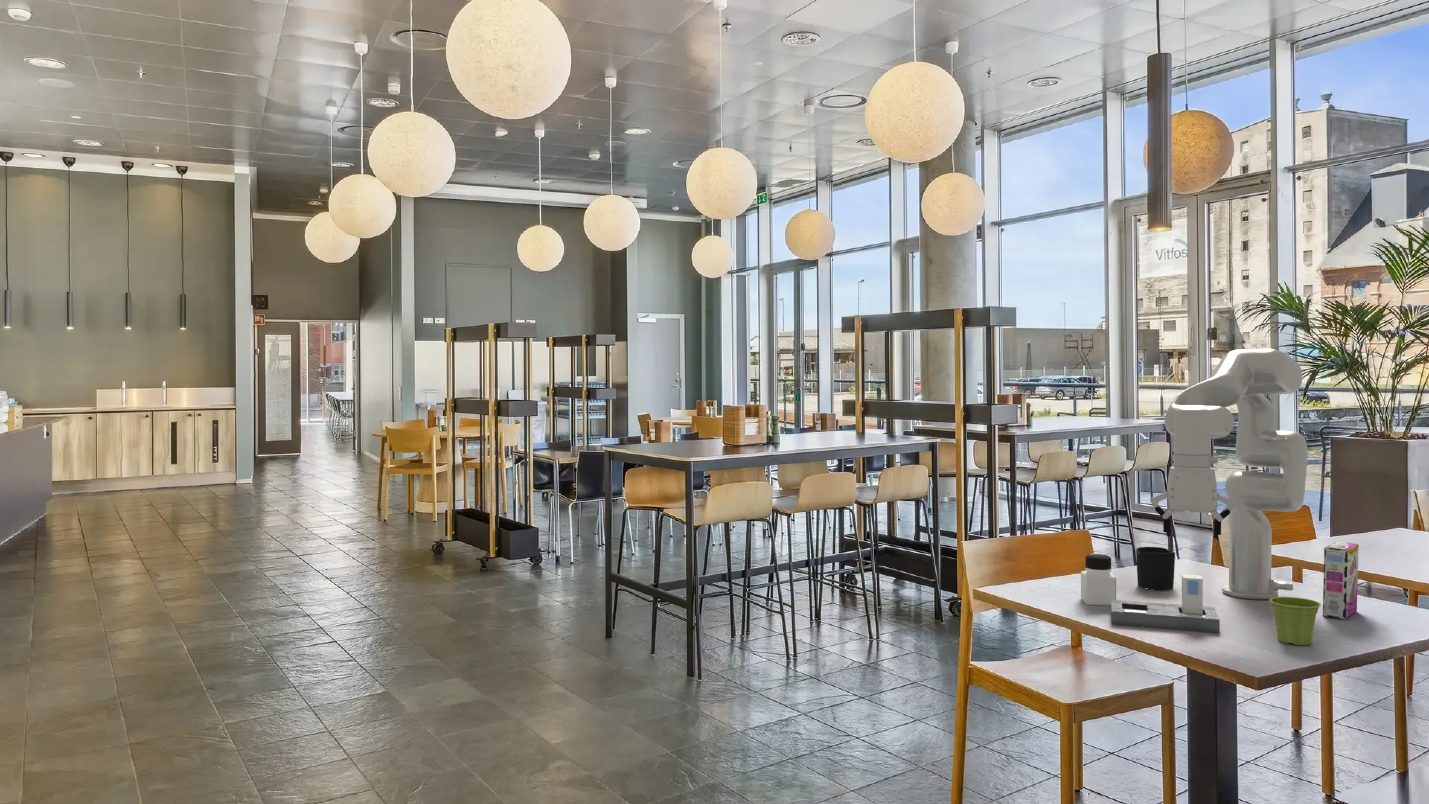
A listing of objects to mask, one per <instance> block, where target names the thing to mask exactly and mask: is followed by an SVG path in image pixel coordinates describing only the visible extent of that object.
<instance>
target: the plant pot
mask: <svg viewBox="0 0 1429 804" xmlns="http://www.w3.org/2000/svg"><path fill="white" fill-rule="evenodd" d="M1268 601H1269V603H1270V604H1271V607H1272V610H1273V614H1274V621H1275V627H1276V634H1277V639H1278V641H1279V642H1281V643H1283V644H1293V645H1296V646H1309V645H1311V644H1312V642H1313V637H1314V630H1315V623H1316V618H1317V614H1318V613H1319V609H1320V608H1321V606H1322V605H1321V603H1320V602H1319V601H1316V600H1313V599H1307V598H1302V597H1295V596H1278V597H1274V598H1270V599H1268Z"/></svg>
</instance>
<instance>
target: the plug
mask: <svg viewBox="0 0 1429 804" xmlns="http://www.w3.org/2000/svg"><path fill="white" fill-rule="evenodd" d="M1203 585H1204V580H1203V576H1202V575H1199V574H1186V573H1185V574H1181V604H1182V613H1185V614H1198V615H1203V606H1204V603H1203V601H1204V592H1203V591H1204V588H1203V587H1204V586H1203Z"/></svg>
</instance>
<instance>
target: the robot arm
mask: <svg viewBox="0 0 1429 804" xmlns="http://www.w3.org/2000/svg"><path fill="white" fill-rule="evenodd" d="M1302 383H1303V371H1302V368H1301V366H1300V364H1299V363H1298V362H1297V361H1296V360H1295V358H1292V357H1291V356H1290V355H1288V354H1287V353H1285V352H1283V351H1281V350H1278V349H1275V348H1253V349H1250V348H1249V349H1248V348H1247V349H1245V348H1244V349H1243V348H1242V349H1234V350H1232V351H1228V352H1227V353H1226V354H1225V355H1223V357H1222V358H1221V360H1220V361H1219V363H1218V364H1217V366H1216V368H1215V369H1214V371H1213V373H1212V374H1211V375H1210V377H1209V378H1208V379H1206V380H1203V381H1201V382H1198V383H1196V384H1194V385H1193V386H1190V387H1188V388H1186V389H1184V390H1182V391H1181V392H1179V393H1178V394H1177V395H1176V396H1175V397H1174V399H1172V401H1171V403H1170V404H1169V406H1168V408H1167V410H1166V413H1165V416H1164V427H1165V429H1166V431H1167V433H1168V434H1170V435H1171V436H1173V466H1170V467H1169V470H1168V471H1169V472H1168V476H1167V477H1168V479H1167V487H1166V488H1167V489H1166V491H1165V492H1163V493H1160V494H1158V495H1155V496H1153V497H1151V498H1150V499H1149V501H1150V503H1151V505H1152V507H1153V508H1154V510H1155V512H1156V513H1157V514H1158V515H1159V516H1160V517H1161V518H1162V519H1163V521H1162V524H1163V525H1162V526H1163V529H1162V530H1163V531H1162V532H1163V533H1166V537H1168V538H1169V537H1171V535H1172V534H1171V532H1172V531H1171V526H1172V525H1171V524H1172V523H1171V522H1172V521H1171V520H1172V519H1171V518H1170V516H1171V515H1172V514H1174V512H1181V513H1182V512H1184V513H1202V514H1204V513H1205V514H1211V515H1212V516H1213V520H1212V537H1213V539H1215V540H1218V538H1219V536H1222V522H1223V520H1225V519H1226V518H1227V517H1228V526H1229V527H1228V532H1229V533H1228V534H1229V535H1228V536H1229V537H1228V540H1229V542H1228V584H1226V585H1223V586H1222V588H1221V591H1222V593H1224V594H1225V595H1228V596H1232V597H1235V598H1239V599H1247V600H1249V599H1250V600H1269V599H1270V598H1274V597H1279V590H1282V591H1283V590H1284V591H1293V590H1294V585H1293V582H1286V581H1282V580H1281V581H1278V580H1275V579H1274V578H1273V577H1272V541H1273V540H1272V539H1273V538H1272V535H1273V533H1272V532H1273V530H1272V526H1271V523H1270V521H1269V519H1268V518H1267V517H1266V515H1265V514H1264V513H1263V512H1262V511H1272V512H1273V511H1274V512H1285V513H1295V512H1297V511H1299V510H1301V508H1302V506H1303V504H1304V500H1305V492H1306V482H1307V481H1306V480H1307V467H1308V455H1309V451H1308V444H1307V440H1306V437H1305V436H1304V435H1302V434H1301V433H1299V432H1298V431H1292V430H1277V429H1276V422H1277V421H1276V418H1277V411H1276V409H1275V407H1274V406H1273V404H1272V403H1271V401H1270V400H1269V399H1268V398H1267V397H1266V396H1265V394H1270V395H1271V394H1272V395H1273V394H1275V395H1278V394H1281V395H1287V394H1288V395H1289V394H1294V393H1296V392H1297V391H1298V390H1299V389H1300V387H1301V386H1302ZM1234 405H1236V407H1237V412H1238V413H1237V414H1238V417H1237V426H1236V427H1237V429H1236V442H1235V458H1236V460H1237V462H1238V463H1239V464H1241V465H1244V466H1249V467H1255V468H1257V467H1258V468H1271V469H1281V470H1282V472H1283V473H1279V472H1267V471H1251V470H1250V471H1249V470H1243V471H1240V470H1239V471H1236V472H1232V473H1231V474H1230V475H1229V476H1228V477H1227V478H1226V480H1225V485H1224V487H1225V488H1224V490H1225V496H1224V495H1223V494H1222V495H1221V494H1220V493H1218V489H1217V478H1216V472H1215V468H1214V467H1212V465H1214V464H1219V457H1215V456H1213V455H1212V452H1211V451H1212V445H1211V444H1212V439H1222V438H1225V437H1227V436H1229V434H1231V432H1232V431H1233V429H1234V426H1235V418H1234V415H1233V413H1232V412H1231V411H1230V410H1229V409H1228V408H1227V407H1231V406H1234ZM1165 499H1166V505H1167V508H1166V509H1165V510H1164V509H1163V508H1162V507H1161V506H1160V504H1159V502H1162V501H1164V500H1165ZM1218 501H1220V502H1221V503H1223V504H1225V507H1224V509H1223V510H1222V511H1221V512H1220V513H1219V512H1218V510H1217V509H1218Z"/></svg>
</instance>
